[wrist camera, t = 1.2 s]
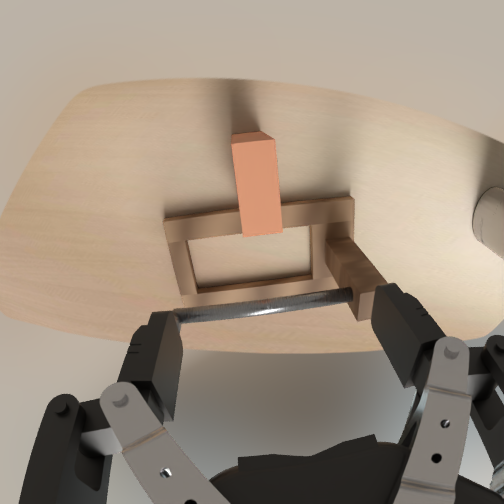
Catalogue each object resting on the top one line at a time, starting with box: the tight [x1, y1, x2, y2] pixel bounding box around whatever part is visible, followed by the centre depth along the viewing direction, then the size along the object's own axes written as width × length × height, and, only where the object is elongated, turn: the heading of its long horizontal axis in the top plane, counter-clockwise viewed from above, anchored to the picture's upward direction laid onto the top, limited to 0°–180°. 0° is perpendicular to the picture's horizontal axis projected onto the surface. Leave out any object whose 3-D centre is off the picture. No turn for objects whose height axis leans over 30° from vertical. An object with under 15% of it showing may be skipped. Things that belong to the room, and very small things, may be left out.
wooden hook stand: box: [163, 196, 388, 321], centre depth 30 cm, size 21×12×12 cm, turn 96°
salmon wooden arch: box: [231, 131, 283, 237], centre depth 26 cm, size 7×3×10 cm, turn 6°
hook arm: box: [172, 287, 353, 334], centre depth 26 cm, size 17×1×3 cm, turn 96°
